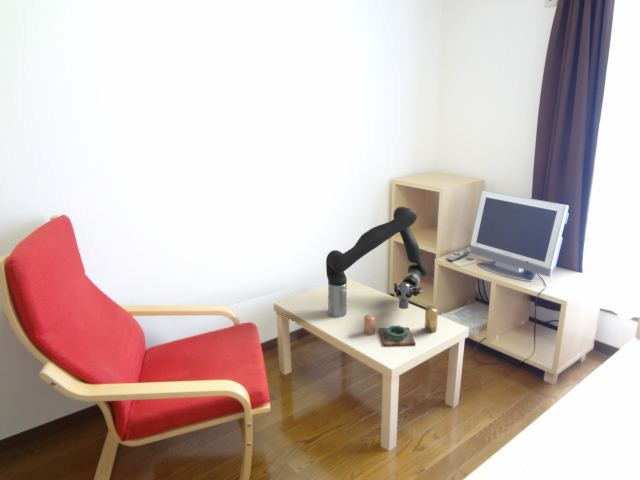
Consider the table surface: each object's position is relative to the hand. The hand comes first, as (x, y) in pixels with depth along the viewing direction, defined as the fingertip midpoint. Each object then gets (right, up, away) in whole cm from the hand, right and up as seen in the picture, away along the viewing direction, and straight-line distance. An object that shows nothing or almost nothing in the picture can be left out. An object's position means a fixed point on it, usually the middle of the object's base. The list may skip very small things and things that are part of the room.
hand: (403, 295), depth 210 cm
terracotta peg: (-16, -17, +1) cm, 23 cm away
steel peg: (+1, -6, +5) cm, 8 cm away
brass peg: (+13, -17, +3) cm, 21 cm away
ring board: (-4, -19, -4) cm, 19 cm away
